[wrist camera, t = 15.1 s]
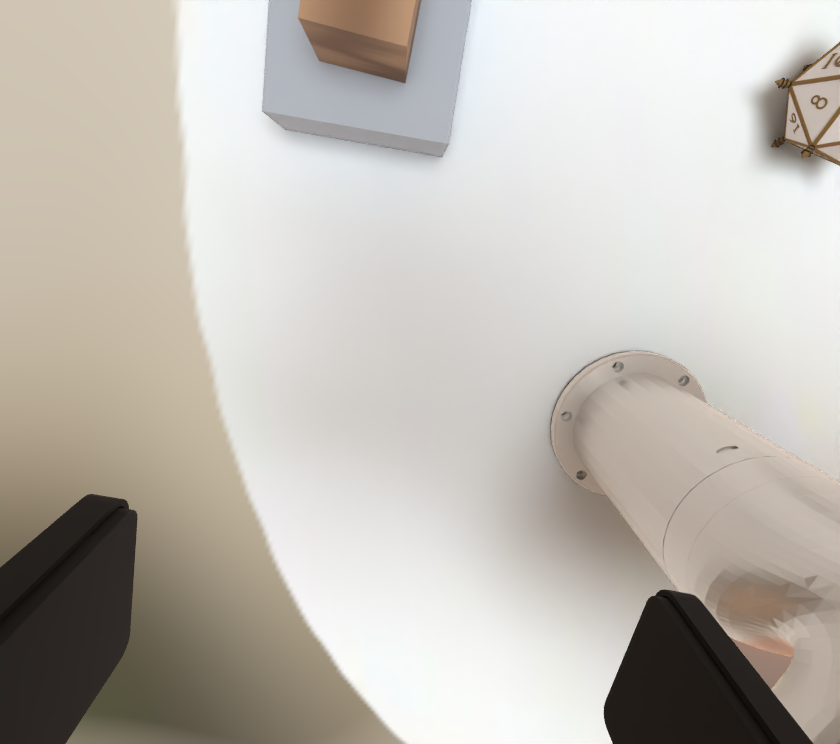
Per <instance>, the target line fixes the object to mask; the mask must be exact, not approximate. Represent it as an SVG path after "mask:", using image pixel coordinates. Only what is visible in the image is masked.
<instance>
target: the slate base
mask: <svg viewBox="0 0 840 744" xmlns="http://www.w3.org/2000/svg"><path fill="white" fill-rule="evenodd" d="M471 1H472V0H421V5H420V10H419V15H418V21H417V26H416V31H415V36H414V42H413V47H412V52H411V57H410V63H409V68H408V73H407V78H406V83H402V82H398V81H395V80H391V79H387V78H383V77H379V76H375V75H372V74H368V73H364V72H360V71H356V70H352V69H348V68H345V67H341V66H337V65H333V64H329V63H325V62H321V61H319V60H318V58H317V56H316V54H315V52H314V50H313V47H312V45H311V43H310V41H309V39H308V37H307V35H306V33H305V31H304V29H303V27H302V25H301V23H300V21H299V19H298V13H299V5H300V0H269V7H268V24H267V40H266V57H265V73H264V90H263V106H262V111H263V112H264V113H265V114H266V115H268V116H269V117H270V118H271V119H273V120H274V121H275V122H276V123H278V124H279V125H280V126H281V127H283V128H284V129H285V130H290V131H296V132H302V133H308V134H313V135H319V136H325V137H330V138H336V139H342V140H348V141H353V142H359V143H365V144H371V145H376V146H382V147H388V148H394V149H399V150H405V151H411V152H416V153H422V154H428V155H434V156H439V157H442V156H443V154H444V152H445V150H446V148H447V146H448V145H449V140H450V133H451V127H452V121H453V114H454V108H455V102H456V96H457V89H458V83H459V77H460V70H461V64H462V58H463V51H464V45H465V39H466V33H467V26H468V20H469V14H470V7H471Z"/></svg>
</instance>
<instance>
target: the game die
mask: <svg viewBox="0 0 840 744" xmlns="http://www.w3.org/2000/svg"><path fill="white" fill-rule="evenodd" d="M775 82H776V84H777V85H778V88H780V87H781V88H782V89H783V88H788V95H787V107H786V119H785V131H784V137H783V138H778V139H777V140H775V141H774V143H773V145H772V146H771V147H779V146H780V145H782V144H784V142H785V141H786V142H788V143H791V144H793V145H795V146H797V147H799V148H802V149H804V151H802V152H801V153H802V158H805V157H810V156H811V154H815V155H817V156H819V157H821V158H824V159H826V160H828V161H830V162H833V163H835V164H837V165H839V166H840V42H839V43H838V44H837V45H836V46H834V47H833V48H832V49H831V50H830V51H828V52H827V53H826V54H825V55H823V56H822V57H821V58H820V59H818V60H817V61H816V62H815V63H813V64H810V65H807V66H804V72H802V73H801V74H800V75H799V76H797V77H796V78H795V79H794V80H793V81H791V82H790V81H789V80H788V79H786V80H785V78H782V79H781V80H778V81H775Z"/></svg>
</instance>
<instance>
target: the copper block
mask: <svg viewBox="0 0 840 744" xmlns="http://www.w3.org/2000/svg"><path fill="white" fill-rule="evenodd" d="M420 5H421V0H300V5H299V13H298V19H299V21H300V23H301V25H302V27H303V29H304V31H305V33H306V35H307V37H308V39H309V41H310V43H311V45H312V47H313V50H314V52H315V54H316V56H317V58H318V60H319V61H321V62H325V63H329V64H333V65H337V66H341V67H345V68H348V69H352V70H356V71H360V72H364V73H368V74H372V75H375V76H379V77H383V78H387V79H391V80H395V81H398V82H402V83H406V78H407V73H408V68H409V63H410V57H411V52H412V47H413V42H414V36H415V31H416V26H417V21H418V15H419V10H420Z"/></svg>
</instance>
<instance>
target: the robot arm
mask: <svg viewBox="0 0 840 744" xmlns="http://www.w3.org/2000/svg"><path fill="white" fill-rule="evenodd" d="M614 363H616V366H614V367H613V365H614ZM679 378H680V379H679ZM564 412H566V413H565V414H564V415H562V414H563V413H564ZM551 441H552V445H553V449H554V452H555V455H556V457H557V459H558V461H559V462H560V464H561V466H562V467H563V469H564V470H565V471H566V473H567V474H568V475H569V476H570V477H571V478H572V479H573V481H575V482H576V483H577V484H579V485H580V486H582V487H583V488H585V489H587V490H589V491H591V492H594V493H597V494H599V495H604V496H608V498H609V499H610V500H611V502H612V503H613V504H614V506H615V507H616V509H617V510H618V511H619V513H620V514H621V515H622V517H623V518H624V519H625V521H626V522H627V523H628V525H629V526H630V527H631V529H632V530H633V531H634V533H635V534H636V535H637V537H638V538H639V539H640V541H641V542H642V543H643V545H644V546H645V547H646V549H647V550H648V551H649V553H650V554H651V555H652V557H653V558H654V559H655V561H656V562H657V563H658V565H659V566H660V567H661V569H662V570H663V571H664V573H665V574H666V575H667V577H668V578H669V579H670V581H671V582H672V583H673V585H674V586H675V587H676V588H677V590H678V591H679V592H676V591H670V590H660V591H659V592H658V593H657V594H656V595H655V596H651V597H650V598H649V599H648V601H647V602H646V605H645V607H644V610H643V612H642V615H641V617H640V619H639V622H638V624H637V627H636V629H635V631H634V634H633V636H632V639H631V641H630V643H629V646H628V648H627V651H626V653H625V656H624V658H623V660H622V663H621V665H620V668H619V670H618V672H617V675H616V677H615V680H614V682H613V684H612V687H611V689H610V692H609V694H608V697H607V699H606V701H605V705H604V719H605V724H606V727H607V730H608V732H609V735H610V737H611V740H612V742H613V744H840V482H839V481H837V480H835V479H834V478H832V477H830V476H829V475H827V474H825V473H824V472H822V471H820V470H818V469H817V468H815V467H813V466H811V465H810V464H808V463H806V462H804V461H803V460H801V459H799V458H797V457H796V456H794V455H792V454H791V453H789V452H787V451H786V450H784V449H782V448H781V447H779V446H777V445H775V444H774V443H772V442H770V441H769V440H767V439H765V438H764V437H762V436H760V435H759V434H757V433H755V432H753V431H752V430H750V429H748V428H747V427H745V426H743V425H742V424H740V423H738V422H737V421H735V420H733V419H731V418H730V417H728V416H726V415H725V414H723V413H721V412H720V411H718V410H716V409H715V408H713V407H711V406H709V405H708V404H707V402H706V398H705V395H704V393H703V390H702V388H701V386H700V384H699V383H698V382H697V380H696V379H695V377H694V376H693V375H692V374H691V373H690V372H689V371H688V370H687V369H686V368H684V367H683V366H682V365H680V364H678V363H676V362H675V361H673V360H671V359H669V358H667V357H664V356H662V355H660V354H655V353H650V352H646V351H628V352H622V353H617V354H613V355H610V356H608V357H605V358H602V359H600V360H598V361H596V362H594V363H593V364H591V365H589V366H587V367H586V368H585V369H584V370H582V371H581V372H580V373H579V374H578V375H576V376H575V377H574V378H573V380H572V381H571V382H570V383H569V384H568V385H567V387H566V388H565V389H564V391H563V393H562V394H561V396H560V398H559V399H558V401H557V404H556V407H555V410H554V412H553V417H552V423H551ZM578 471H579V472H578ZM136 528H137V513H136V511H134V510H130V509H129V506H128V503H127V501H126V500H124V499H118V498H112V497H106V496H100V495H94V494H90V495H87V496H85V497H84V498H82V499H81V500H80V501H79V502H77V503H76V504H75V505H74V506H73V507H71V508H70V509H69V510H68V511H67V512H66V513H64V514H63V515H62V516H61V517H60V518H58V519H57V520H56V521H55V522H54V523H53V524H51V525H50V526H49V527H48V528H47V529H45V530H44V531H43V532H42V533H41V534H40V535H38V536H37V537H36V538H35V539H34V540H32V542H30V543H29V544H28V545H27V546H25V547H24V548H23V549H22V550H21V551H19V552H18V553H17V554H16V555H15V556H13V557H12V558H11V559H10V560H9V561H8V562H6V563H5V564H4V565H3V566H2V567H0V744H65V743H66V742H67V740H68V739H69V737H70V736H71V734H72V733H73V731H74V730H75V728H76V727H77V725H78V724H79V722H80V720H81V719H82V717H83V716H84V714H85V713H86V711H87V710H88V708H89V707H90V705H91V704H92V702H93V701H94V699H95V698H96V696H97V695H98V693H99V691H100V690H101V688H102V687H103V685H104V684H105V682H106V681H107V679H108V678H109V676H110V675H111V673H112V672H113V670H114V669H115V667H116V666H117V664H118V663H119V661H120V659H121V658H122V656H123V654H124V652H125V650H126V647H127V644H128V641H129V636H130V625H131V609H132V594H133V578H134V577H133V576H134V561H135V546H136V531H137V529H136ZM730 637H731V638H733V639H735V640H737V641H739V642H742V643H744V644H747V645H750V646H752V647H755V648H758V649H761V650H765V651H768V652H772V653H776V654H780V655H784V656H789V657H793V658H792V660H791V662H790V665H789V667H788V669H787V670H786V671H785V673H784V674H783V675H782V676H781V678H780V679H779V681H778V682H777V683H776V684H775V686H774V687H773V688H772V689H770V688H769V687H768V685H767V684H766V683H765V682H764V680H763V679H762V678H761V677H760V675H759V674H758V673H757V671H756V670H755V669H754V668H753V666H752V665H751V664H750V662H749V661H748V660H747V659H746V658H745V656H744V655H743V654H742V652H741V651H740V650H739V649H738V647H737V646H736V645H735V643H734V642H733V641H732V640H731V639H730Z"/></svg>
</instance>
